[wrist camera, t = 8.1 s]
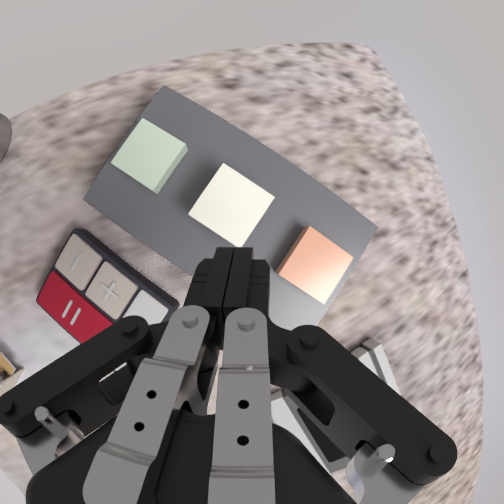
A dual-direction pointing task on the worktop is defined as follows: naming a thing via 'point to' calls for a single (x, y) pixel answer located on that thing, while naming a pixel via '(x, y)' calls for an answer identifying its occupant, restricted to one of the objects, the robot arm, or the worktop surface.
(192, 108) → the key console
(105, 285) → the calculator
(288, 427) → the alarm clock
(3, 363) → the architectural model
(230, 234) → the cream key
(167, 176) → the sage key
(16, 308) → the worktop surface
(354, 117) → the worktop surface
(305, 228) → the terracotta key
